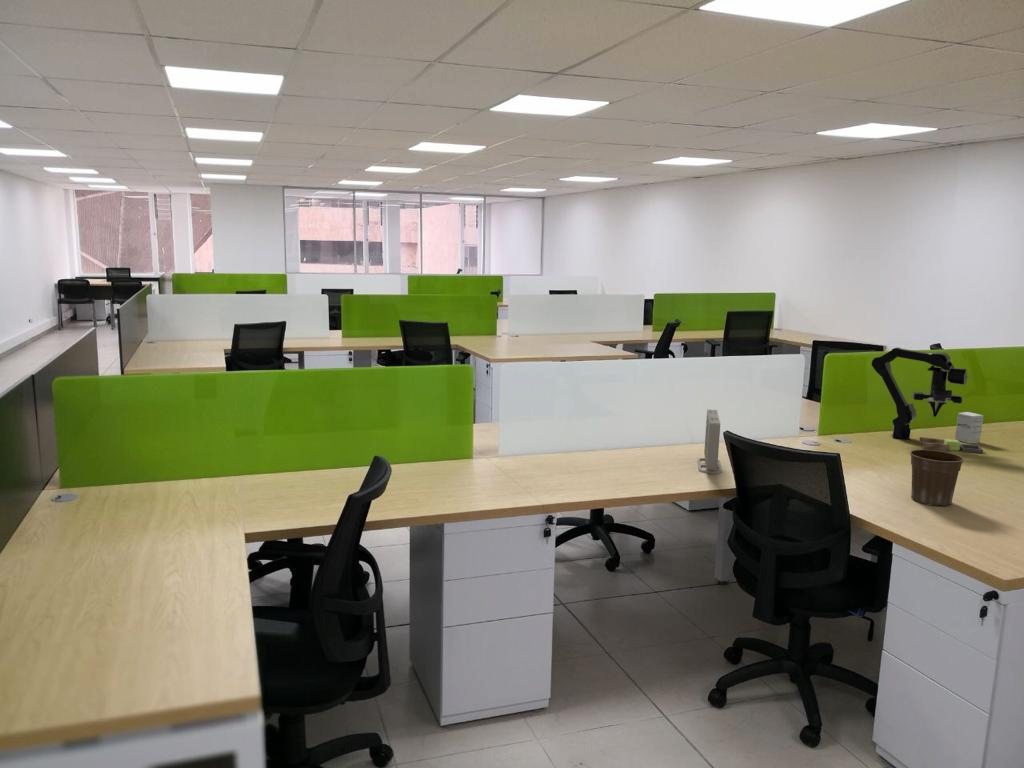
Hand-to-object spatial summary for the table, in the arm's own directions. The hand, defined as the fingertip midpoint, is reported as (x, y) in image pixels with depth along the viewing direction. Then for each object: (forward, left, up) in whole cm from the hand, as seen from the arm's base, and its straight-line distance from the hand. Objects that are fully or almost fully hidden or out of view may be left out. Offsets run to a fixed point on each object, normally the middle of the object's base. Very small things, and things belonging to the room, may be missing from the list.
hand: (934, 416), depth 344 cm
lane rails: (0, -7, -12) cm, 14 cm away
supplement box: (+16, +11, -12) cm, 23 cm away
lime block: (+7, -7, -12) cm, 16 cm away
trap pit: (+14, -7, -12) cm, 20 cm away
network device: (-88, -79, -12) cm, 119 cm away
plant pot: (-13, -91, -12) cm, 93 cm away
